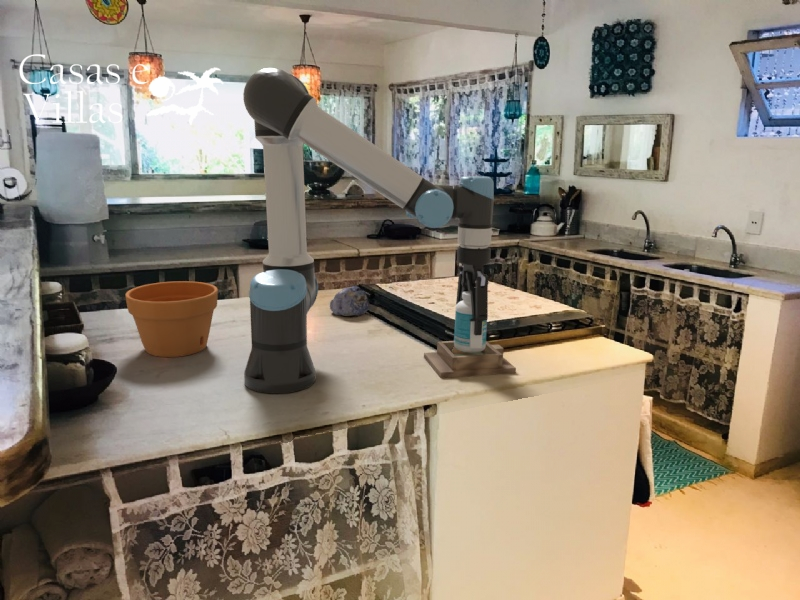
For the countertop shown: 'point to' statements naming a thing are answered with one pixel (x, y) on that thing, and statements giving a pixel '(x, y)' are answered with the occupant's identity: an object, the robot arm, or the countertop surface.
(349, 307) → the rock
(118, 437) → the countertop surface
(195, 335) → the flower pot
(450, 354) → the wooden tray
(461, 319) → the pill bottle
